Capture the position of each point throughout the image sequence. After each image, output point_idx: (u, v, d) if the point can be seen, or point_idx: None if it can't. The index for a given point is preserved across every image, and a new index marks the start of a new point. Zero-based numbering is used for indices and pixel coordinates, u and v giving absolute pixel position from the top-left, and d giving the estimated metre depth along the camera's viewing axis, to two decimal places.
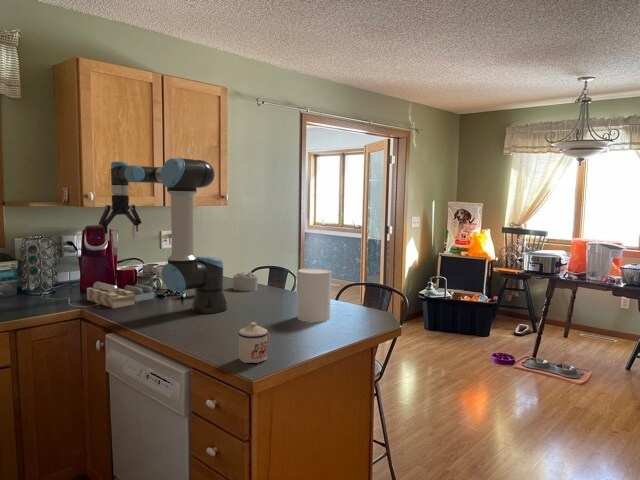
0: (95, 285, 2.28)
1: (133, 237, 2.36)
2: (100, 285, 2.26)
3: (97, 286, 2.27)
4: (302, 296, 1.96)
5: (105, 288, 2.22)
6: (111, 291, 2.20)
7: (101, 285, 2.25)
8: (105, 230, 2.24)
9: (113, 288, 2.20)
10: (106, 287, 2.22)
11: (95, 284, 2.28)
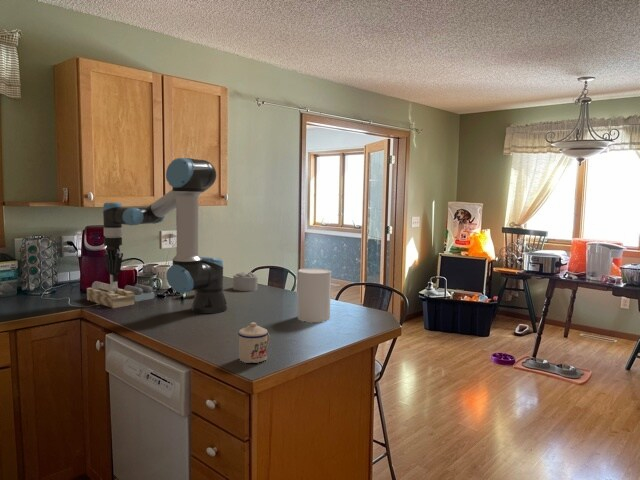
0: (94, 285, 2.29)
1: None
2: (99, 285, 2.26)
3: (96, 286, 2.27)
4: (302, 296, 1.96)
5: (104, 288, 2.23)
6: (110, 291, 2.20)
7: (100, 285, 2.26)
8: None
9: None
10: (105, 287, 2.23)
11: (94, 284, 2.29)
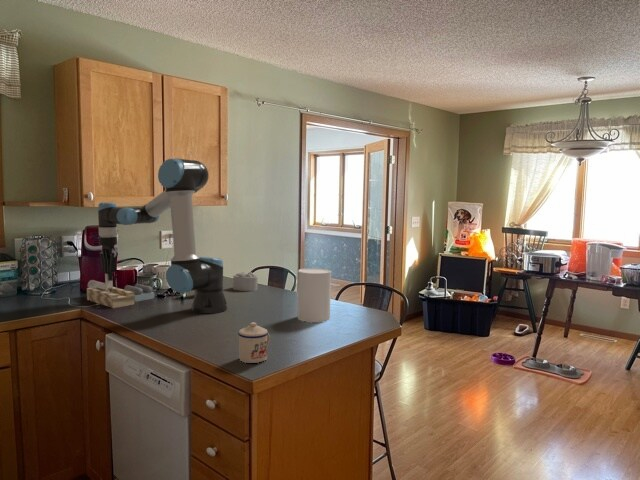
0: (89, 283, 2.32)
1: None
2: (94, 283, 2.29)
3: (91, 284, 2.30)
4: (302, 296, 1.96)
5: (99, 286, 2.26)
6: (105, 289, 2.23)
7: (95, 283, 2.29)
8: None
9: None
10: (100, 285, 2.26)
11: (89, 282, 2.32)
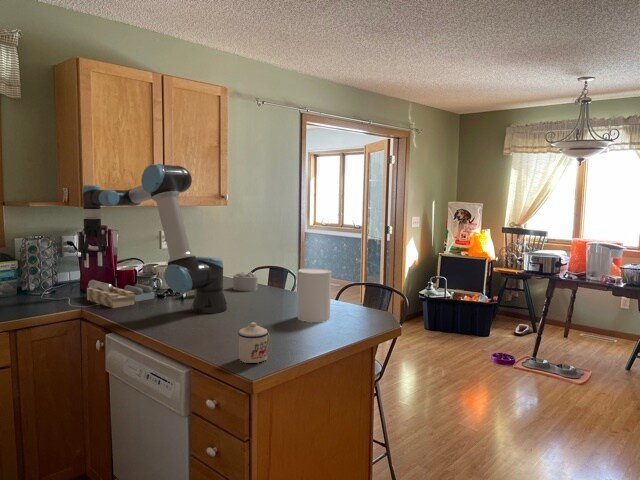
0: (90, 283, 2.32)
1: (99, 264, 2.34)
2: (95, 283, 2.30)
3: (92, 284, 2.31)
4: (302, 296, 1.96)
5: (100, 286, 2.26)
6: (105, 289, 2.23)
7: (96, 283, 2.29)
8: (84, 257, 2.28)
9: (108, 286, 2.24)
10: (101, 285, 2.26)
11: (90, 282, 2.32)
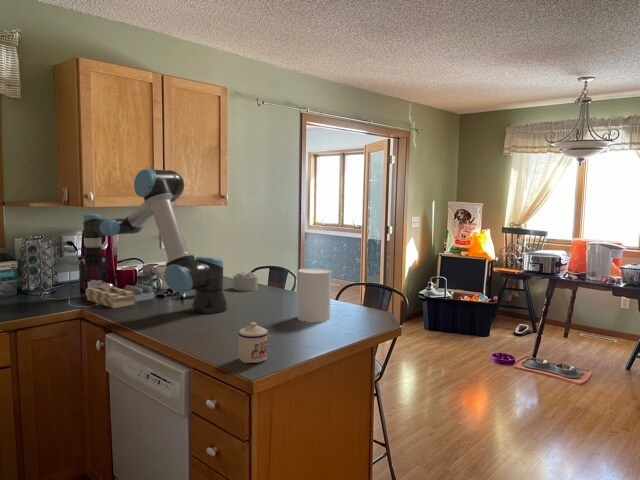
0: (91, 282, 2.32)
1: None
2: (97, 282, 2.30)
3: (93, 283, 2.31)
4: (302, 296, 1.96)
5: (101, 285, 2.26)
6: (107, 288, 2.24)
7: (98, 282, 2.30)
8: (86, 286, 2.29)
9: (109, 286, 2.25)
10: (103, 284, 2.26)
11: (92, 281, 2.33)
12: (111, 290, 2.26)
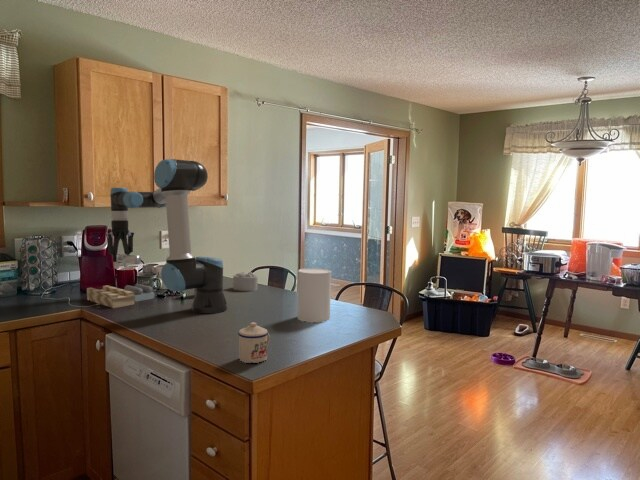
0: None
1: (124, 266, 2.37)
2: (122, 255, 2.31)
3: (119, 257, 2.32)
4: (302, 296, 1.96)
5: (128, 257, 2.28)
6: (134, 260, 2.26)
7: (123, 255, 2.31)
8: (114, 259, 2.32)
9: (136, 257, 2.26)
10: (129, 256, 2.28)
11: None
12: (139, 261, 2.28)
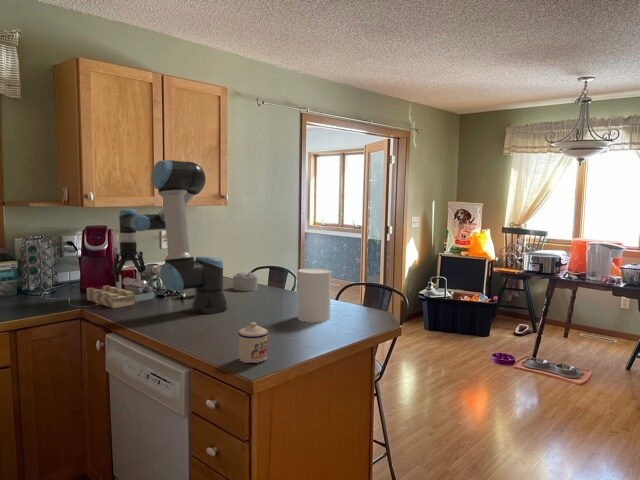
0: (125, 280, 2.36)
1: None
2: (130, 280, 2.34)
3: (127, 281, 2.35)
4: (302, 296, 1.96)
5: (135, 283, 2.30)
6: (141, 286, 2.28)
7: (131, 280, 2.33)
8: (117, 279, 2.32)
9: (143, 283, 2.28)
10: (136, 282, 2.30)
11: (125, 279, 2.37)
12: (146, 287, 2.30)
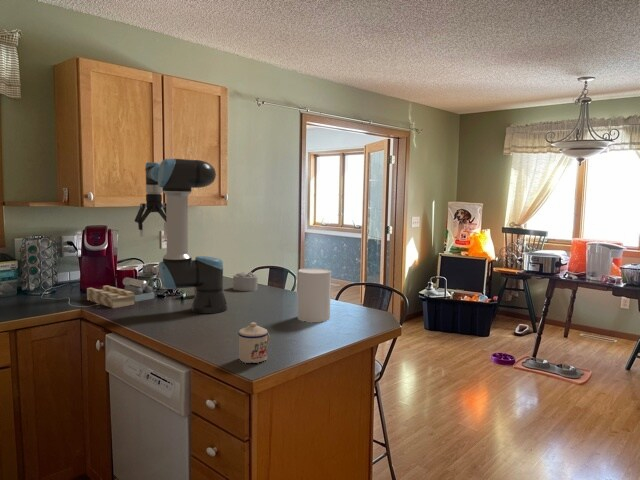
0: (125, 280, 2.36)
1: (165, 233, 2.51)
2: (130, 280, 2.34)
3: (127, 281, 2.35)
4: (302, 296, 1.96)
5: (135, 283, 2.30)
6: (141, 286, 2.28)
7: (131, 280, 2.33)
8: (140, 227, 2.39)
9: (143, 283, 2.28)
10: (136, 282, 2.30)
11: (125, 279, 2.37)
12: (146, 287, 2.30)
